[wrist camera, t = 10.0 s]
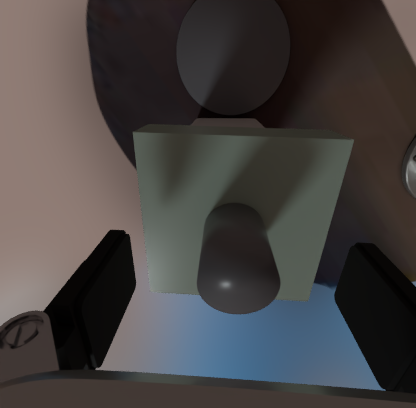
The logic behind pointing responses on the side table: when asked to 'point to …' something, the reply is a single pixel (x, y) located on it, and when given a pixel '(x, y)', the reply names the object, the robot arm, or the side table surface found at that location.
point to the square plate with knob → (237, 210)
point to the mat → (233, 53)
